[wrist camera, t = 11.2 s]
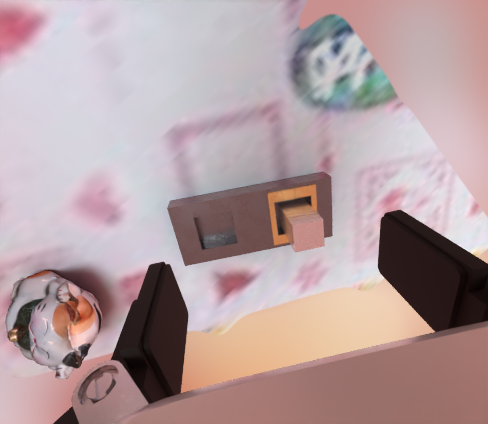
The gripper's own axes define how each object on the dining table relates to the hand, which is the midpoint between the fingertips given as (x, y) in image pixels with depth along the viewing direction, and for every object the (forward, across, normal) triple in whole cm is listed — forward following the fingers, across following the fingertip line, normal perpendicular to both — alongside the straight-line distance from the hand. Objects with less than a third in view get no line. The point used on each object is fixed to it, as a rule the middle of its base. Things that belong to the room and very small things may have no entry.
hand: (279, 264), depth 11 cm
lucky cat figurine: (+28, +32, +19) cm, 47 cm away
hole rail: (+28, -1, +12) cm, 30 cm away
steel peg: (+27, -7, +12) cm, 31 cm away
